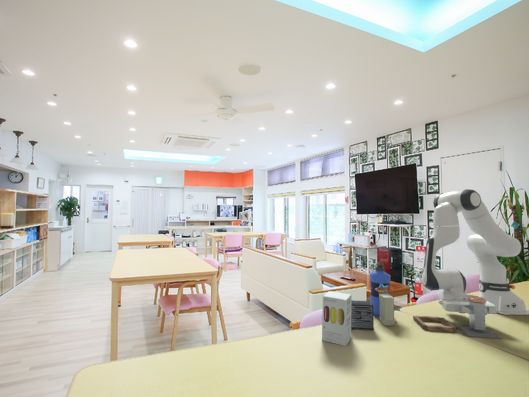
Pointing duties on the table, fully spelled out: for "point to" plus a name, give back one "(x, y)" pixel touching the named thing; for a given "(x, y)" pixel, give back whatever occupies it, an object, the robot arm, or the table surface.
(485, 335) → the charcoal mat
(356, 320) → the small box
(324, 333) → the supplement box
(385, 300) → the skincare box
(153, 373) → the table surface
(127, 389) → the table surface
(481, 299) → the copper-capped steel post
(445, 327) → the brown wooden square frame
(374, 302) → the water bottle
